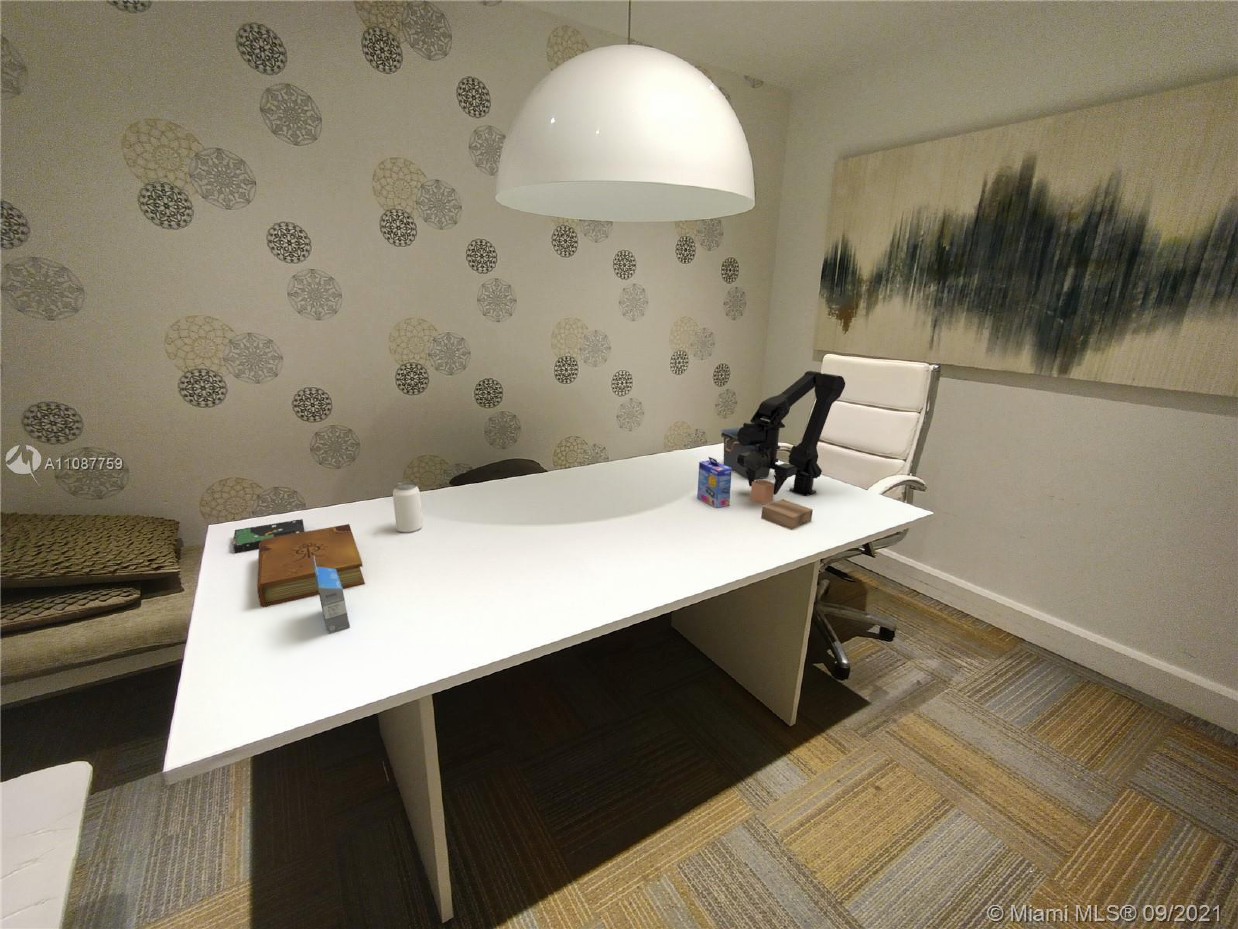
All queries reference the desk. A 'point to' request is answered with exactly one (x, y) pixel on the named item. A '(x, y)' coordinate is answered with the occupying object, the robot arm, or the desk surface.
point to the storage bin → (734, 449)
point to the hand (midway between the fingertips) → (762, 490)
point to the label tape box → (331, 599)
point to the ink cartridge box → (714, 483)
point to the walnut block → (786, 514)
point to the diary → (305, 563)
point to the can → (407, 507)
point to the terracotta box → (762, 491)
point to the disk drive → (263, 534)
